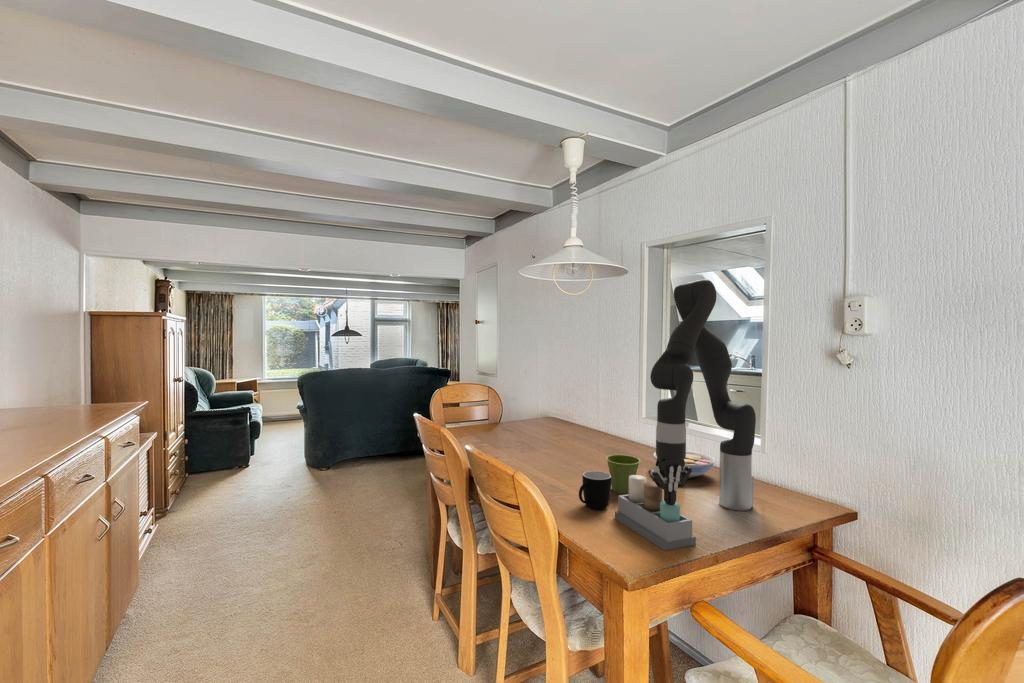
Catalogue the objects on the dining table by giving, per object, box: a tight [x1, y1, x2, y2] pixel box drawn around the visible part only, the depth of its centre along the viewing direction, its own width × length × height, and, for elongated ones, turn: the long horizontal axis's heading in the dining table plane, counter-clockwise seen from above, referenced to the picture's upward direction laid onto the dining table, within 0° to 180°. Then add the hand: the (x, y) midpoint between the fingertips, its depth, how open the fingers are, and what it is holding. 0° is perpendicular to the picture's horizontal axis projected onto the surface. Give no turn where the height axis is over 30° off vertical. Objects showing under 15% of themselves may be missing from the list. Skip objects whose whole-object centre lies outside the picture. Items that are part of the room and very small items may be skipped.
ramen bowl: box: [653, 449, 716, 479], centre depth 176 cm, size 25×23×8 cm
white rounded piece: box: [629, 474, 647, 503], centre depth 133 cm, size 5×5×6 cm
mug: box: [578, 470, 612, 511], centre depth 142 cm, size 12×9×10 cm
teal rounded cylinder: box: [660, 500, 681, 523], centre depth 119 cm, size 5×5×6 cm
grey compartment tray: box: [614, 493, 697, 552], centre depth 126 cm, size 10×22×6 cm, turn 21°
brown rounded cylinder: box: [644, 481, 663, 512], centre depth 126 cm, size 5×5×6 cm
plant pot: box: [605, 454, 641, 495], centre depth 158 cm, size 12×12×11 cm
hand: (669, 504), depth 119 cm, fingers closed
